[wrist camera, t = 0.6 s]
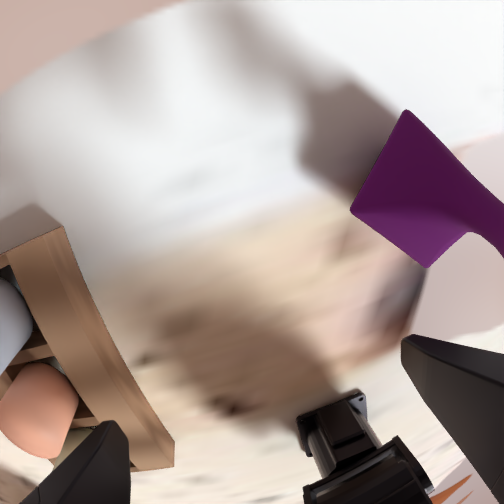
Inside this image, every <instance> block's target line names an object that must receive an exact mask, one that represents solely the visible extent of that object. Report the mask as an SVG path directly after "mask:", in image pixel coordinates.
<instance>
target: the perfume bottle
mask: <svg viewBox="0 0 504 504" xmlns="http://www.w3.org/2000/svg"><path fill="white" fill-rule="evenodd" d="M350 212H351V213H352V214H353V215H354V216H356V217H357V218H358V219H360V220H361V221H363V222H364V223H365V224H367V225H368V226H370V227H371V228H372V229H374V230H375V231H377V232H378V233H379V234H381V235H382V236H383V237H385V238H386V239H388V240H389V241H390V242H392V243H393V244H394V245H396V246H397V247H398V248H400V249H401V250H402V251H404V252H405V253H406V254H407V255H409V256H410V257H411V258H413V259H414V260H415V261H417V262H418V263H419V264H420V265H422V266H423V267H424V268H429V267H430V266H431V265H432V264H433V263H434V262H435V261H436V260H437V259H438V258H439V257H440V256H441V255H442V254H443V253H444V252H445V251H446V250H447V249H448V248H449V247H450V246H452V245H453V244H454V243H455V242H456V241H457V240H458V239H460V238H461V237H462V236H463V235H464V234H465V233H467V232H474V233H477V234H479V235H481V236H482V237H483V238H485V239H486V240H487V241H488V242H490V243H491V244H492V245H493V246H494V247H496V249H497V250H498V251H499V252H500V254H501V255H502V257H503V258H504V204H503V203H502V202H501V201H500V200H499V199H497V198H496V197H495V196H494V195H493V194H492V193H491V192H490V191H489V190H488V189H487V188H485V187H484V186H483V185H482V184H481V183H480V182H479V181H478V180H477V179H476V178H475V177H474V176H473V175H472V174H471V173H470V172H469V171H468V170H467V169H466V168H465V167H464V165H463V164H462V163H461V162H460V161H459V160H458V159H457V158H456V157H455V156H454V155H453V154H452V153H451V151H450V150H449V149H448V148H447V147H446V146H445V145H444V144H443V143H442V142H441V141H440V140H439V139H438V138H437V137H436V136H435V135H434V134H433V133H432V132H431V131H430V130H429V129H428V128H427V127H426V126H425V125H424V124H423V123H422V122H421V121H420V120H419V119H418V118H417V117H416V116H415V115H414V114H413V113H412V112H411V111H409V110H407V109H406V110H404V111H403V112H402V114H401V116H400V118H399V120H398V122H397V124H396V125H395V127H394V129H393V131H392V133H391V135H390V137H389V139H388V141H387V142H386V144H385V146H384V148H383V150H382V152H381V154H380V155H379V157H378V159H377V161H376V163H375V165H374V166H373V168H372V170H371V172H370V174H369V175H368V177H367V179H366V181H365V182H364V184H363V186H362V188H361V190H360V191H359V193H358V195H357V197H356V198H355V200H354V202H353V203H352V205H351V207H350Z"/></svg>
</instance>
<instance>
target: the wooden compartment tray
mask: <svg viewBox="0 0 504 504" xmlns="http://www.w3.org/2000/svg"><path fill="white" fill-rule="evenodd" d="M7 265H10V266H11V268H12V271H13V273H14V275H15V278H16V280H17V282H18V285H19V287H20V289H21V291H22V294H23V296H24V298H25V300H26V302H27V304H28V307H29V309H30V311H31V313H32V315H33V317H34V319H35V321H36V323H37V325H38V326H39V328H40V330H37V331H34V332H32V333H31V336H30V338H29V339H28V340H27V342H26V343H25V344H24V345H23V347H22V348H21V349H20V350H19V352H18V353H17V354H16V356H15V357H14V358H13V359H12V361H11V362H10V363H9V365H8V366H7V367H6V369H5V370H4V371H3V373H2V374H1V375H0V401H1V399H2V398H3V396H4V395H5V393H6V392H7V390H8V389H9V387H10V386H11V384H12V383H13V381H14V380H15V378H16V377H17V375H18V374H19V372H20V371H21V369H22V368H23V367H24V366H25V365H26V364H28V362H29V361H33V360H37V359H42V358H46V357H50V356H55V357H56V359H57V360H58V362H59V364H60V365H61V367H62V369H63V370H64V372H65V374H66V375H67V377H68V378H69V380H70V381H71V383H72V384H73V386H74V387H75V389H76V390H77V392H78V393H79V395H80V396H78V398H79V403H78V406H77V409H76V412H75V414H74V417H73V419H72V422H71V425H70V427H69V429H71V428H79V427H88V426H96V425H99V424H100V423H101V422H102V421H107V420H115V421H116V422H117V423H118V425H119V426H120V428H121V429H122V430H123V432H124V433H125V435H126V436H127V438H128V441H129V455H130V472H139V471H148V470H156V469H163V468H170V467H174V448H175V441H174V440H173V439H172V437H171V436H170V434H169V433H168V431H167V430H166V429H165V427H164V426H163V424H162V423H161V421H160V420H159V418H158V417H157V415H156V414H155V412H154V411H153V409H152V407H151V406H150V404H149V403H148V401H147V400H146V398H145V396H144V395H143V393H142V391H141V390H140V388H139V386H138V385H137V383H136V381H135V380H134V378H133V376H132V375H131V373H130V371H129V369H128V368H127V366H126V364H125V362H124V360H123V359H122V357H121V355H120V353H119V351H118V349H117V348H116V346H115V344H114V342H113V340H112V338H111V336H110V334H109V332H108V330H107V328H106V326H105V324H104V322H103V320H102V318H101V316H100V314H99V312H98V310H97V308H96V306H95V303H94V301H93V299H92V297H91V295H90V292H89V290H88V288H87V286H86V283H85V281H84V279H83V276H82V274H81V272H80V269H79V267H78V264H77V262H76V259H75V257H74V254H73V252H72V249H71V246H70V244H69V241H68V238H67V236H66V233H65V230H64V227H63V226H62V227H59V228H57V229H55V230H52V231H50V232H48V233H46V234H43V235H41V236H39V237H37V238H34V239H32V240H30V241H28V242H26V243H23V244H21V245H19V246H17V247H15V248H13V249H11V250H8V251H6V252H4V253H2V254H0V269H1V268H3V267H5V266H7ZM56 459H57V457H55V458H51V459H48V460H49V461H50V462H51V463H52V464H53V465H55V462H56Z"/></svg>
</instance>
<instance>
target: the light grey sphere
mask: <svg viewBox="0 0 504 504" xmlns="http://www.w3.org/2000/svg"><path fill="white" fill-rule="evenodd" d="M32 328H33V321H32V315H31V312H30V309H29V307H28V304H27V302H26V300H25V299H24V297H23V295H22V294H21V293H20V292H19V290H18V289H17V288H16V287H15V286H13V285H12V284H11V283H10V282H8V281H6V280H4V279H2V278H0V375H1V374H2V373H3V371H4V370H5V369H6V367H7V366H8V365H9V363H10V362H11V361H12V359H13V358H14V357H15V356H16V354H17V353H18V352H19V350H20V349H21V348H22V347H23V345H24V344H25V343H26V342H27V340H28V339H29V338H30V336H31V333H32Z"/></svg>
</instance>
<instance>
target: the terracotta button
mask: <svg viewBox="0 0 504 504" xmlns="http://www.w3.org/2000/svg"><path fill="white" fill-rule="evenodd" d="M78 403H79V398H78V394H77V391H76V389H75V387H74V386H73V384H72V383H71V382H70V380H69V379H68V378H67V377H66V376H65V375H64V374H62V373H61V372H60V371H58V370H57V369H55V368H54V367H52V366H50V365H47V364H44V363H40V362H31V363H28V364H26V365H25V366H24V367H23V368H22V369H21V371H20V372H19V374H18V375H17V377H16V378H15V380H14V381H13V383H12V384H11V386H10V387H9V389H8V390H7V392H6V393H5V395H4V396H3V398H2V399H1V401H0V430H1V431H2V432H3V434H4V435H5V436H6V437H7V438H8V439H9V440H10V441H11V442H12V443H13V444H15V445H16V446H17V447H19V448H20V449H22V450H23V451H25V452H27V453H29V454H31V455H34V456H37V457H40V458H46V459H51V458H55V457H57V456H58V455H59V454H60V452H61V449H62V447H63V444H64V441H65V438H66V435H67V433H68V430H69V427H70V425H71V422H72V419H73V417H74V414H75V412H76V409H77V406H78Z"/></svg>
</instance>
